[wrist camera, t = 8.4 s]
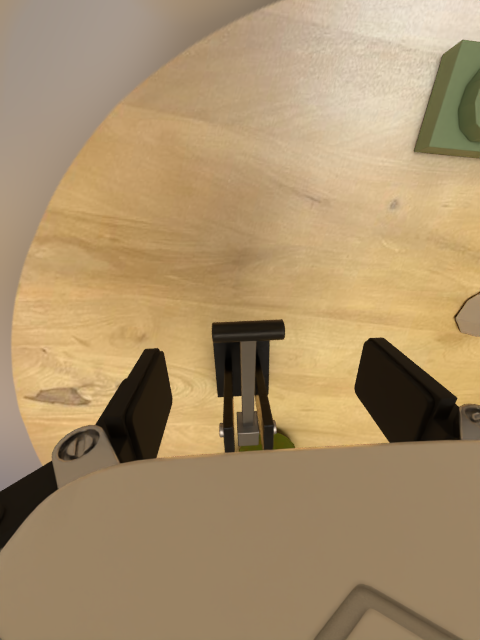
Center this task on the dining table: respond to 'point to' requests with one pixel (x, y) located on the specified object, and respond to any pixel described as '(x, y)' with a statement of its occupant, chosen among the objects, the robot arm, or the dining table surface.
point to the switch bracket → (230, 386)
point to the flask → (470, 317)
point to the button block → (454, 105)
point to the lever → (248, 366)
